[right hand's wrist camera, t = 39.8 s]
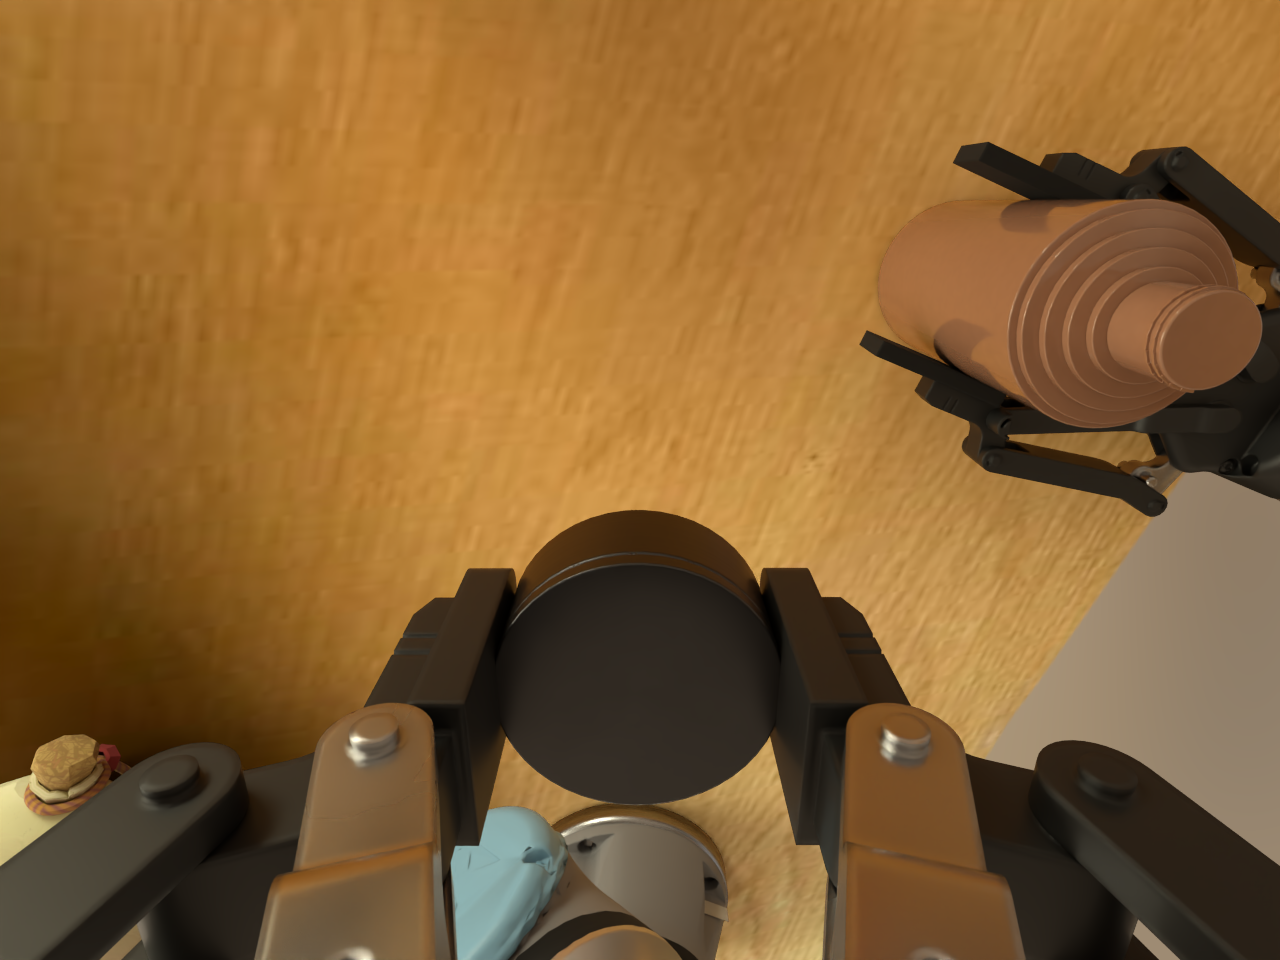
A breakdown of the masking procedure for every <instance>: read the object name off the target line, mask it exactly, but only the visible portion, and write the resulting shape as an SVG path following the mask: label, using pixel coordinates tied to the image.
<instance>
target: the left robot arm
mask: <svg viewBox="0 0 1280 960" xmlns="http://www.w3.org/2000/svg"><path fill="white" fill-rule="evenodd" d="M953 163H954V164H956V165H958V166H960V167H962V168H964V169H967V170H969V171H971V172H973V173H975V174H977V175H979V176H982V177H984V178H986V179H988V180H990V181H992V182H994V183H996V184H999V185H1001V186H1003V187H1005V188H1007V189H1009V190H1011V191H1013V192H1016V193H1018V194H1020V195H1022V196H1024V197H1026V198H1028V199H1030V200H1071V199H1158V200H1160V199H1161V200H1167V201H1171V202H1175V203H1179V204H1182V205H1184V206H1186V207H1189V208H1191V209H1193V210H1195V211H1196V212H1198V213H1199V214H1201V215H1203V216H1204V217H1206V218H1207V219H1208V220H1209V221H1210V222H1211V223H1212V224H1213V225H1214V226H1215V227H1216V228H1217V229H1218V231H1219V232H1220V233H1221V234H1222V236H1223V237H1224V238H1225V240H1226V242H1227V244H1228V246H1229V248H1230V250H1231V253H1232V256H1233V257H1234V258H1235V259H1237V260H1238V261H1240V262H1242V263H1244V264H1246V265H1249V266H1253V267H1254V268H1253V269H1252V271H1251V273H1250V275H1251V277H1252V278H1253V279H1256V283H1257V284H1258V285H1259V286H1261V287H1262V288H1264V290H1265V291H1266V301H1265V303H1264V304H1259V305H1256V306H1257V308H1258V310H1259V312H1260V315H1261V319H1262V336H1261V340H1260V343H1259V346H1258V349H1257V351H1256V353H1255V354H1254V356H1253V358H1252V359H1251V361H1250V362H1249V363H1248V364H1247V366H1246V367H1245V368H1244V369H1243V370H1242V371H1241V372H1240V373H1239V374H1237V375H1236V376H1235V377H1234V378H1232V379H1231V380H1229V381H1227V382H1225V383H1224V384H1221V385H1219V386H1217V387H1213V388H1210V389H1205V390H1194V393H1189V392H1186V393H1185V394H1184V395H1182V396H1181V397H1180V398H1178V399H1177V400H1176V401H1174V402H1173V403H1171V404H1170V405H1168V406H1167V407H1165V408H1163V409H1162V410H1160V411H1158V412H1156V413H1154V414H1152V415H1150V416H1148V417H1145V418H1143V419H1140V420H1138V421H1135V422H1132V423H1128V424H1125V425H1120V426H1114V427H1108V428H1084V427H1077V426H1072V425H1068V424H1065V423H1062V422H1059V421H1057V420H1054V419H1052V418H1050V417H1048V416H1046V415H1044V414H1043V413H1041V412H1039V411H1037V410H1035V409H1033V408H1031V407H1029V406H1027V405H1025V404H1023V403H1021V402H1019V401H1017V400H1015V399H1013V398H1011V397H1010V396H1006V394H1004V393H1002V392H1000V391H998V390H996V389H994V388H992V387H990V386H988V385H986V384H984V383H982V382H980V381H978V380H976V379H975V378H973V377H971V376H969V375H967V374H965V373H963V372H961V371H959V370H957V369H955V368H953V367H951V366H949V365H947V364H945V363H942V362H940V361H938V360H935V359H933V358H931V357H928V356H926V355H924V354H921V353H919V352H917V351H914V350H912V349H909V348H907V347H905V346H902V345H900V344H898V343H895V342H893V341H891V340H888V339H886V338H884V337H881V336H879V335H877V334H874V333H872V332H870V331H866V333H865V335H864V337H863V339H862V341H861V343H860V344H859V345H861V346H862V347H864V348H865V349H866V350H868V351H869V352H871V353H872V354H874V355H875V356H877V357H879V358H882V359H884V360H887V361H889V362H891V363H894V364H896V365H898V366H901V367H903V368H906V369H908V370H910V371H913V372H915V373H917V374H920V375H922V376H923V377H922V378H921V380H920V382H919V384H918V386H917V387H916V389H915V392H916V393H917V394H918V395H919V396H920V397H921V398H922V399H923V400H925V401H926V402H927V403H929V404H930V405H932V406H934V407H936V408H938V409H941V410H943V411H946V412H948V413H951V414H953V415H955V416H958V417H960V418H962V419H965V420H967V421H969V423H970V431H969V436H967V437H966V438H965V439H964V441H963V443H962V449H963V451H964V453H965V454H966V455H968V456H969V457H970V458H971V459H973V460H974V461H975V462H976V463H978V464H979V465H980V466H981V467H983V468H984V469H985V470H987V471H989V472H993V473H998V474H1003V475H1008V476H1013V477H1017V478H1022V479H1027V480H1032V481H1037V482H1042V483H1047V484H1052V485H1057V486H1062V487H1066V488H1071V489H1076V490H1081V491H1086V492H1091V493H1096V494H1101V495H1106V496H1111V497H1115V498H1120V499H1121V500H1123V501H1125V502H1126V503H1128V504H1129V505H1131V506H1132V507H1134V508H1136V509H1137V510H1139V511H1140V512H1142V513H1143V514H1145V515H1147V516H1150V517H1155V516H1157V515H1160V514H1161V513H1163V512H1164V510H1165V509H1166V507H1167V499H1166V498H1165V497H1164V496H1163V495H1162V493H1163V492H1164V491H1165V490H1166V489H1167V488H1168V487H1169V485H1170V484H1171V483H1172V482H1173V481H1174V480H1175V479H1176V478H1177V477H1178V476H1179V475H1180V474H1181V473H1182V472H1188V473H1193V472H1202V471H1206V472H1212V473H1214V474H1216V475H1218V476H1221V477H1223V478H1226V479H1228V480H1230V481H1233V482H1235V483H1237V484H1240V485H1242V486H1244V487H1247V488H1249V489H1251V490H1254V491H1256V492H1258V493H1261V494H1263V495H1266V496H1268V497H1271V498H1275V499H1277V500H1279V501H1280V223H1279V222H1278V221H1277V220H1276V219H1274V218H1273V217H1272V216H1271V215H1270V214H1268V213H1267V212H1266V211H1265V210H1264V209H1262V208H1261V207H1260V206H1259V205H1258V204H1256V203H1255V202H1254V201H1253V200H1252V199H1250V198H1249V197H1248V196H1247V195H1246V194H1244V193H1243V192H1242V191H1241V190H1240V189H1238V188H1237V187H1236V186H1235V185H1234V184H1232V183H1231V182H1230V181H1229V180H1228V179H1226V178H1225V177H1224V176H1223V175H1222V174H1220V173H1219V172H1218V171H1217V170H1216V169H1214V168H1213V167H1212V166H1211V165H1210V164H1208V163H1207V162H1206V161H1205V160H1204V159H1202V158H1201V157H1200V156H1199V155H1198V154H1196V153H1195V152H1194V151H1193V150H1192V149H1190V148H1188V147H1172V148H1160V149H1150V150H1142V151H1140V152H1138V153H1137V154H1136V155H1134V156H1133V158H1132V160H1131V161H1130V165H1129V167H1128V168H1127V169H1126V170H1125V171H1124V172H1122V173H1121V174H1119V173H1116V172H1114V171H1112V170H1110V169H1108V168H1106V167H1104V166H1102V165H1100V164H1098V163H1095V162H1094V161H1092V160H1090V159H1087V158H1086V157H1083V156H1081V155H1079V154H1077V153H1057V154H1047V155H1046V156H1045V157H1044V159H1043V161H1042V163H1041V165H1040V166H1038V165H1036V164H1034V163H1031V162H1029V161H1027V160H1025V159H1023V158H1021V157H1019V156H1017V155H1015V154H1013V153H1011V152H1008V151H1006V150H1004V149H1002V148H1000V147H998V146H996V145H994V144H992V143H990V142H985V143H978V144H971V145H965V146H961V148H960V150H959V152H958V154H957V156H956V158H955V160H954V162H953ZM1109 431H1135V432H1140V433H1147V434H1148V437H1149V439H1150V442H1151V444H1152V447H1153V449H1154V452H1155V454H1156V457H1155V458H1154V459H1152V460H1150V461H1147V462H1141V461H1138V460H1131V461H1128V462H1127V461H1122V462H1120V463H1119V464H1118V466H1117V467H1116V466H1114V465H1112V464H1111V463H1108V462H1106V461H1104V460H1100V459H1097V458H1092V457H1088V456H1083V455H1078V454H1073V453H1068V452H1064V451H1059V450H1054V449H1049V448H1044V447H1040V446H1035V445H1030V444H1025V443H1020V442H1015V441H1011V440H1009V437H1008V436H1007V435H1012V434H1044V433H1076V432H1109ZM451 870H452V877H453V885H454V899H455V919H456V938H457V957H458V960H715V956H716V952H717V948H718V943H719V939H720V935H721V930H722V926H723V921H724V920H725V921H728V922H729V920H728V912H727V902H728V892H727V884H726V876H725V869H724V864H723V860H722V857H721V855H720V853H719V851H718V849H717V847H716V846H715V844H714V843H713V841H712V840H711V839H710V837H709V836H708V835H707V834H706V833H705V832H704V831H703V830H701V829H700V828H699V827H698V826H697V825H695V824H694V823H692V822H691V821H689V820H687V819H686V818H684V817H682V816H680V815H678V814H676V813H674V812H671V811H668V810H665V809H662V808H658V807H655V806H650V805H626V804H614V803H613V804H605V805H599V806H594V807H590V808H587V809H583V810H581V811H578V812H575V813H573V814H571V815H569V816H567V817H565V818H563V819H561V820H560V821H558V822H557V823H555V824H554V825H553V826H550V824H549V823H548V822H547V821H546V820H545V819H544V818H543V817H542V816H541V815H540V814H538V813H537V812H535V811H533V810H531V809H528V808H524V807H517V806H506V807H499V808H494V809H490V810H488V812H487V816H486V820H485V824H484V828H483V832H482V836H481V840H480V844H479V846H455V849H454V853H453V856H452V860H451Z"/></svg>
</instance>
